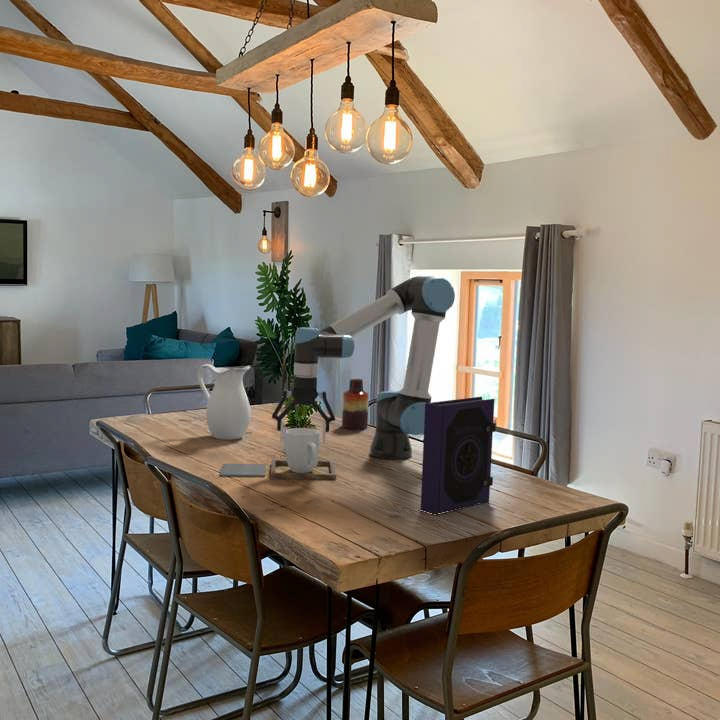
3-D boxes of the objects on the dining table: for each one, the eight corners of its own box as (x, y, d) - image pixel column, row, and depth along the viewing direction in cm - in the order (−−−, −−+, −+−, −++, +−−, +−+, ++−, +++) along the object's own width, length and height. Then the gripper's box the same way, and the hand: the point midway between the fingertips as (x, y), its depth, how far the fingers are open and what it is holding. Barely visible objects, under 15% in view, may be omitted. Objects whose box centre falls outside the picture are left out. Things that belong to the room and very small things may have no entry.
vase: (367, 430, 322) (369, 381, 319) (341, 429, 322) (343, 380, 319) (367, 425, 332) (369, 378, 330) (342, 424, 332) (344, 377, 330)
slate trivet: (266, 465, 255) (266, 464, 255) (264, 476, 242) (265, 474, 242) (223, 465, 254) (223, 463, 254) (219, 476, 240) (219, 474, 240)
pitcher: (258, 436, 301) (260, 365, 298) (229, 443, 287) (230, 369, 284) (213, 428, 314) (214, 360, 311) (183, 434, 300) (184, 363, 297)
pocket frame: (332, 465, 260) (333, 460, 259) (336, 479, 241) (336, 474, 241) (272, 464, 258) (272, 459, 258) (270, 478, 240) (270, 473, 239)
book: (436, 516, 207) (441, 406, 204) (419, 510, 212) (424, 402, 209) (491, 501, 223) (497, 399, 220) (474, 496, 227) (479, 396, 224)
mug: (330, 475, 246) (332, 435, 244) (300, 479, 240) (301, 438, 238) (307, 465, 258) (308, 427, 257) (278, 468, 252) (279, 429, 251)
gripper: (343, 376, 251) (340, 440, 253) (266, 373, 249) (264, 437, 251) (345, 379, 244) (341, 445, 246) (265, 375, 241) (263, 442, 243)
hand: (302, 441), depth 248 cm, fingers open, 13 cm apart
